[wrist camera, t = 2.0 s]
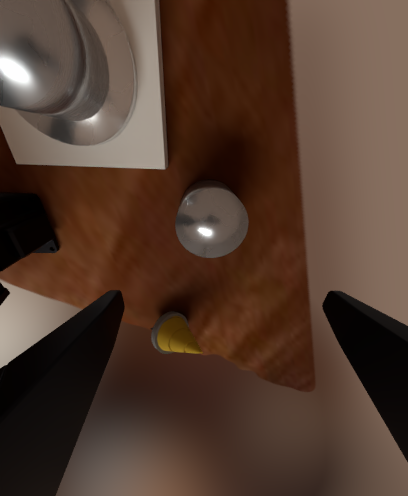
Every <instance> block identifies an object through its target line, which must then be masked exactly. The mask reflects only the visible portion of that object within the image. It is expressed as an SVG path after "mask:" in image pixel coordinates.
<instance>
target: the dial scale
mask: <svg viewBox="0 0 408 496" xmlns="http://www.w3.org/2000/svg"><path fill="white" fill-rule="evenodd" d="M73 1H74V3H75V4H76V5H77V6H78V7H79V9H80V10H81V11H82V12H83V13H84V15H85V16H86V17H87V19H88V20H89V21H90V22H91V24H92V26H93V27H94V29H95V30H96V32H97V34H98V36H99V38H100V40H101V43H102V45H103V48H104V50H105V54H106V57H107V62H108V67H109V90H108V95H107V98H106V101H105V103H104V105H103V106H102V108H101V109H100V110H99V112H98V113H97V114H95V115H94V116H93V117H91V118H89V119H86V120H83V121H68V120H63V119H59V118H54V117H49V116H45V115H40V114H35V113H31V112H26V111H22V110H17V109H12V108H8V107H3V106H0V126H1V128H2V131H3V133H4V136H5V138H6V140H7V143H8V145H9V147H10V150H11V152H12V155H13V157H14V159H15V162H16V164H31V165H60V166H89V167H118V168H148V169H166V168H168V152H167V134H166V115H165V97H164V79H163V60H162V42H161V24H160V6H159V0H73Z"/></svg>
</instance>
